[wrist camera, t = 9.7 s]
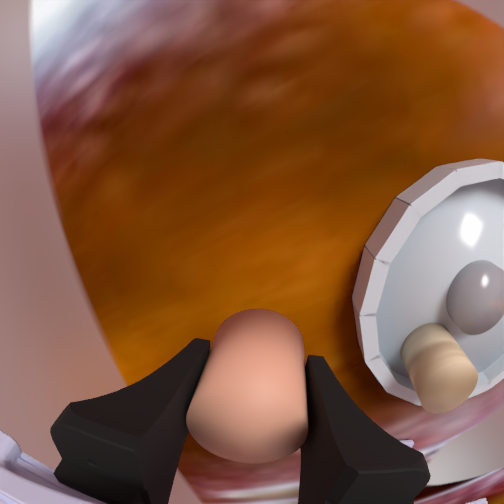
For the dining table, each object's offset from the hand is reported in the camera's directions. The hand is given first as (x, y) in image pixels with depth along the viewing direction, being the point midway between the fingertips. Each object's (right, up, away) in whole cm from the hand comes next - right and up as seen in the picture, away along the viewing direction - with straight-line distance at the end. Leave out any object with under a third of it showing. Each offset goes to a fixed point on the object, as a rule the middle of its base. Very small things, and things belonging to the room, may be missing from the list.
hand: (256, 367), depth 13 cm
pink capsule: (0, 0, +1) cm, 1 cm away
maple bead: (+12, -2, +7) cm, 14 cm away
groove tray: (+15, +2, +7) cm, 17 cm away
